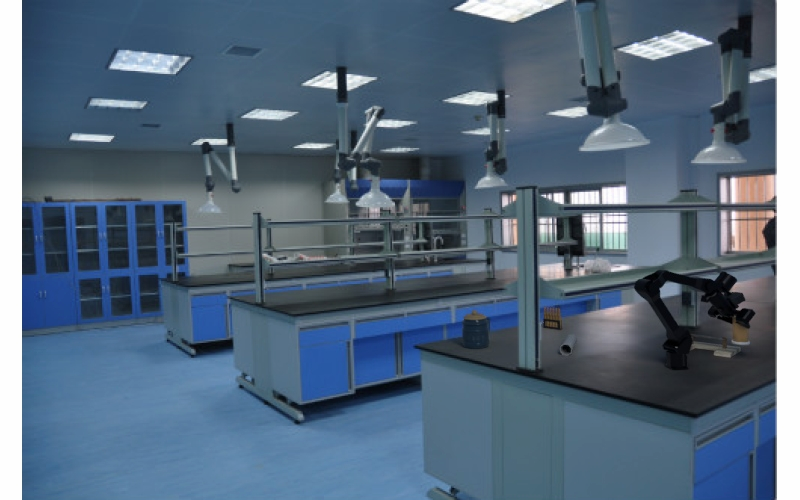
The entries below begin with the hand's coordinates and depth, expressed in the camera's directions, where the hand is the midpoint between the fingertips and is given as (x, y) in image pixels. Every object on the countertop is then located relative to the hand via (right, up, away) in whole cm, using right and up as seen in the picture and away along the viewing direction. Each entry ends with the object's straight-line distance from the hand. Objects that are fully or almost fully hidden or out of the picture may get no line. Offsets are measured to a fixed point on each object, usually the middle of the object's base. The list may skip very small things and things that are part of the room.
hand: (743, 326), depth 213 cm
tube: (-59, -15, +33) cm, 69 cm away
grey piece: (-5, -13, +18) cm, 22 cm away
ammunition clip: (-55, -12, +76) cm, 94 cm away
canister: (-100, -16, +46) cm, 112 cm away
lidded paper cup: (-1, -7, 0) cm, 7 cm away
